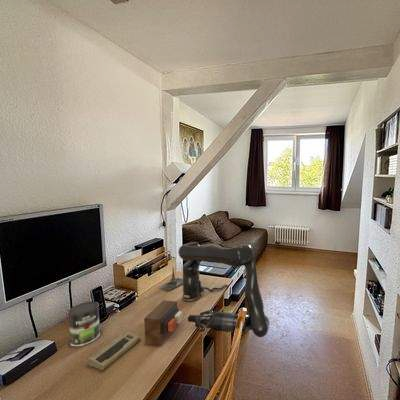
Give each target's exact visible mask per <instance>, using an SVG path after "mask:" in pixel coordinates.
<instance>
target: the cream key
mask: <svg viewBox="0 0 400 400" xmlns="http://www.w3.org/2000/svg"><path fill="white" fill-rule="evenodd" d="M183 313H184V312H183V311H181V310H179V311H178V312H177V313H176V315H175V316H174V317H175V319H176V323H178V324H180V323H181V322H182V320H183V316H184V315H183Z"/></svg>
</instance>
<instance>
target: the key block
mask: <svg viewBox="0 0 400 400" xmlns="http://www.w3.org/2000/svg"><path fill="white" fill-rule="evenodd" d="M178 311H180V308H179V307H178V301H177V300H165V299H163V300H162V301H161V302H160V303H159V304H157V305H156V306H155V308H153V309H152V310H151V311H150V312H149V313H148V314H147V315H146V316H145V317H144V318H143V320H144V323H143V324H144V344H145V346H155V347H161V346H163V344H164V342H165V341H166V340H167V339H168V338H169V336H170V335H171V334H172V332H170V331H168V323H169V321H170V320H171V319H172V318H174V319H175V317H174V316H175V315H176V313H177V312H178ZM177 326H178V323H177Z"/></svg>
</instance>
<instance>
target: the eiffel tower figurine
mask: <svg viewBox="0 0 400 400" xmlns="http://www.w3.org/2000/svg"><path fill="white" fill-rule="evenodd" d="M174 268H175V267H174V266H172V275H171V279H170V281H168V282H166V283H165V284H163V285H161V286H159V287H158V288H159V289H162V290H167V291H171V290H174V289H176V288H177V287H179V286H181V285H183V278H179V277H177V278H176V277H175V269H174Z"/></svg>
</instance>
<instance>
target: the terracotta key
mask: <svg viewBox="0 0 400 400" xmlns="http://www.w3.org/2000/svg"><path fill="white" fill-rule="evenodd" d="M177 327H178V325H177V323H176V319H174V318H172V319H171V320H170V321H169V323H168V331H170V332H171V333H173V332H174V330H175V329H176V328H177Z"/></svg>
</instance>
